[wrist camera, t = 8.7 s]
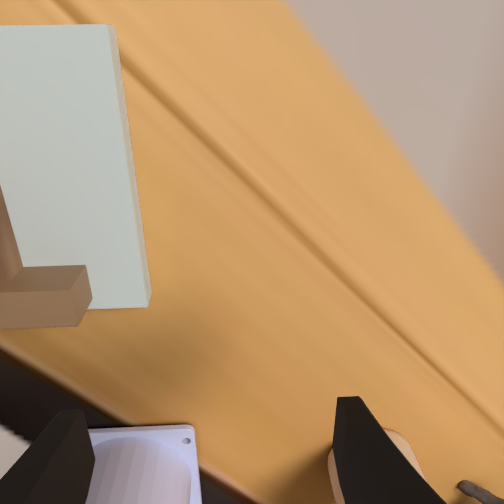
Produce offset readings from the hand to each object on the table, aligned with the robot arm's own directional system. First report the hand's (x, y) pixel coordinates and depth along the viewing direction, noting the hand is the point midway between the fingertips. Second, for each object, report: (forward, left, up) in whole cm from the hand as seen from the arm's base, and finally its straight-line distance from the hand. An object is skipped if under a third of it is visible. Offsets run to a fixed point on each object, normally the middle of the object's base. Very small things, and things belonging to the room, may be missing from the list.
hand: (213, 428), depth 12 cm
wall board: (+5, +10, -10) cm, 15 cm away
